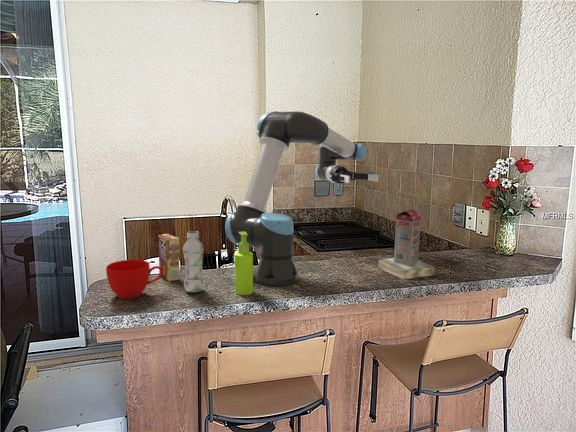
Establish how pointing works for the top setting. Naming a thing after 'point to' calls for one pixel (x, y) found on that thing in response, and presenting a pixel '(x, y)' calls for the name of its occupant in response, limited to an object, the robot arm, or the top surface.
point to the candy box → (169, 257)
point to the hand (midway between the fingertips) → (363, 179)
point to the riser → (406, 269)
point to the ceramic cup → (129, 277)
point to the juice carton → (407, 237)
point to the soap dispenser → (243, 268)
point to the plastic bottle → (193, 263)
